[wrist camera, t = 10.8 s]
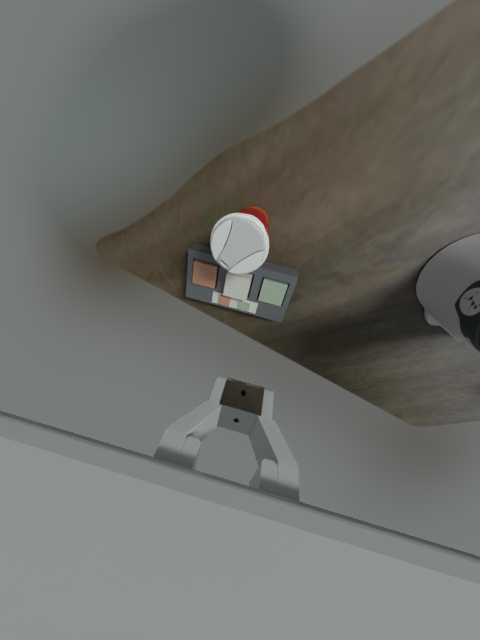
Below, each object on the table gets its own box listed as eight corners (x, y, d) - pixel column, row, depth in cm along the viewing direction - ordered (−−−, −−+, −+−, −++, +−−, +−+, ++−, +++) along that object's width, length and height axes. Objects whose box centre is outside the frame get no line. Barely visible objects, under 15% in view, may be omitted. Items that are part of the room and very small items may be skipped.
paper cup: (254, 254, 43) (240, 288, 31) (222, 225, 41) (195, 249, 30) (285, 221, 39) (282, 246, 27) (252, 186, 37) (233, 198, 25)
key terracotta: (220, 262, 43) (217, 267, 41) (217, 283, 46) (214, 288, 44) (198, 256, 43) (193, 261, 41) (196, 277, 46) (192, 282, 44)
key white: (253, 274, 42) (251, 280, 40) (248, 295, 44) (245, 301, 42) (229, 268, 42) (226, 273, 40) (226, 289, 45) (223, 295, 43)
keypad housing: (298, 269, 43) (298, 278, 40) (282, 313, 49) (281, 324, 45) (195, 243, 44) (187, 249, 40) (191, 288, 50) (184, 297, 46)
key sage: (288, 280, 43) (287, 285, 41) (281, 300, 45) (280, 306, 43) (265, 274, 43) (263, 279, 41) (259, 294, 45) (257, 300, 43)
